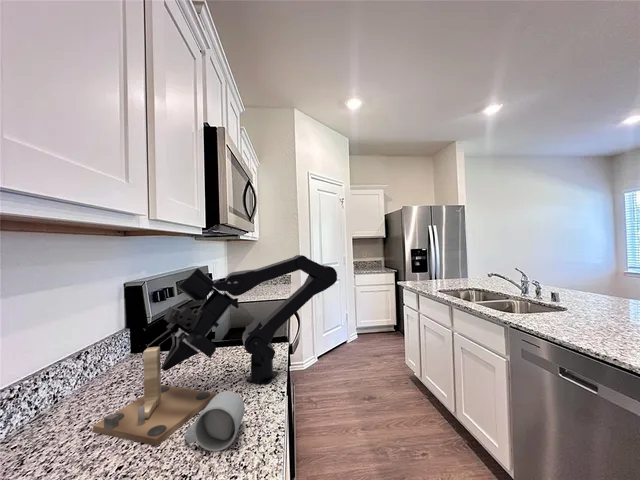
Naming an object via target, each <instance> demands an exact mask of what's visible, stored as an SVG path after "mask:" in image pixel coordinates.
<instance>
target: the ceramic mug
mask: <svg viewBox="0 0 640 480" xmlns="http://www.w3.org/2000/svg"><path fill="white" fill-rule="evenodd" d="M244 415H245V402H244V400H243V398H242V396H240V394H239V393H237V392H235V391H233V390H232V391H231V390H224V391H221V392H220V393H217V394H216V396H215V397H214V398H213V399H212V400H211V401H210V402H209V404H208V405H206V406H205V407H204V408H203V409H202V410H201V411H200V414H199V415H198V417H196V419H195V422H194V423H193V424H191V426H190V427H188V429H187V430H185V432H184V434H183V438H184V439H185V441H186V443H187V444H193V443H196V442H197V444H198V445H199V446H200V447H201V448H202V449H204V450H206V451H209V452H220V451H223V450H225V449H227V448H229V446H231V444H233V442H234V441H235V439H236V438H237V434H238V431H239V429H240V426H241V424H242V421H243V419H244Z"/></svg>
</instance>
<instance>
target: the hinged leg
mask: <svg viewBox="0 0 640 480" xmlns="http://www.w3.org/2000/svg"><path fill="white" fill-rule="evenodd" d="M142 354H143V388H144V389H143V396H144V405H143V406H145V418H149V416H150V415H151V413H152V411H153V410H154V408H155V406H156V405H158V404H159V402H160V400H161V385H162V374H161V373H162V371H161V370H162V369H161V367H162V365H161V363H162V362H161V346H152V347H146V349H144V351H143V353H142Z"/></svg>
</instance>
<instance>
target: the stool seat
mask: <svg viewBox="0 0 640 480" xmlns="http://www.w3.org/2000/svg"><path fill="white" fill-rule="evenodd" d="M216 395H217V394H216V392H211V391H205V390H198V389H192V388H186V387H180V386H178V387H177V386H171V385H163V384H161V400H160V402H159V404H158V405H156V406H155V408H154V410H153V411H152V413H151V415H150V416H149V418H145V406H143V405H144V395H143V396H141V397H139V398H137V399H135V400H134V401H132V402H130V403H129V404H127V405H126V406H124V407H122V408H121V409H119V410H117V411H115V412H114V413H109V414H108V415H106V416H104V417H103V419H102V420H100V421H99V422H97V423H95V424H94V425H92V432H93V433H98V434H100V435H101V434H102V435H106V436H111V437H113V438H114V437H115V438H120V439H123V438H125V439H124V440H128V439H129V440H128V441H132V440H133V442H137V443H141V444H146V445H150V446H155V447H157V446H159V445H160V444H161V443H162V442H164V441H165V440H167V438H168V437H170V436H171V435H172V434H173V433H175V432H176V431H177V430H179V428H181V427H182V426H183V425H184V424H186V423H187V422H188V421H189V420H191V419H192V418H193V417H194V416H195V415H197V414H199V412H201V411H203V410H204V409H205V408H206V406H207V405H208V404H209V402H210V401H211V400H212V399H213V398H214V397H215V396H216Z"/></svg>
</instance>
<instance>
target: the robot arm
mask: <svg viewBox="0 0 640 480" xmlns="http://www.w3.org/2000/svg"><path fill="white" fill-rule="evenodd" d="M297 271H302V272H303V273H305V274H306V275H308V276H307V277H306V279H305V280H304V283H303V284H302V285H301V286H300V287H299V288H297V290H295V292H293V293H292V294H291V295H290V296H289V297H288V298H286V299H285V300H284V302H282V303H281V304H280V305H279V306H278V307H276V309H274V311H272V312H271V313H270V314H269V315H268V316H267V317H266V318H263V319H260V320H259V318H258V317H256V318H255V319H253V321H252V322H251V323H250V324H249V325H246V326H245V330H244V331H243V333H242V337H241V339H242V343H243V347H244V350H245V351H246V352H247V353H248V354H249V355H251V356H250V375H249V377H248V376H247V378H246V382H248V383H254V384H255V383H256V384H263V385H268V384H270V383H271V381H273V379H275V377H277V375H279V372H278V371H276V370H275V371H274V363H273V360H274V358H275V355H276V350H275V349H274V347H273V345H272V343H271V342H272V340H273V338H274V337H275V334H276V333H277V331H278V330H279V329H280V327H282V326H283V325H285V323H286V322H287V321H288V320H289V319H290V318H292V317H294V315H296V313H297V312H298V311H299V310H300V309H301V308H302V307H304V305H306V304H307V303H308V302H309V301H310V300H311V299H312V298H313V297H314V296H315V295H317V294H319V293H322V292H324V291H326V290H327V289H330V288H331V287H332V286H333V285H335V283H337V280H338V273H337V271H336V269H335V268H334V267H332V266H328V265H324V264H321V263H318V262H316V261H315V260H311V259H310V258H308V257H307V256H306V255H303V254H301V255H300V254H296V255H294V256H293V257H290V258H287V259H283V260H281V261H277V262H274V263H271V264H268V265H265V266H262V267H259V268H256V269H255V268H254V269H245V270H239V271H232V272H230V273H228V274H227V275H226V276H225V277H223V278H219V279H218V278H217V279H212V278H211V277H210V276H208V275H207V274H206V273H204V271H203V270H202V269H200V267H197V268H196V269H195V270H194V271H193V272H192V273H191V274H190V275H188V276H187V277H186V279H184V280H183V282H181V283H180V284H179V286H178V287H177V289H178V290H179V291H181V292H182V293H184V294H185V295H186V296H187V297H189V298H190V299H191V300H193V301H194V302H195V303H196V302H197V301H199V302H200V301H201V302H203V301H204V300H205V299H206V298H207V297H208V298H207V299H206V300H205V301H204V302H203V303H202V305H201V306H200V307H199V308H193V309H191V308H188V307H185V306H183V307H182V308H181V309H179V308H177V307H173V306H168V309H167V310H166V313H165V315H164V318H163V321H166V322H167V323H168V325H166V327H165V328H167V330H169V331H171V332H172V333H170V335H171V340H172V344H171V347H170V349H169V351H168V353H167V355H166V358H165V359H164V361H163V364H162V365H161V370H162V371H164V372H167V371H168V370H170V369H172V368H174V367H175V366H177V365H179V364H181V363H182V362H185V361H186V360H189V359H190V358H192V357H194V356H195V355H199V354H200V352H201V353H203V354H204V355H205V356H207V357H208V358H209V359H211V358H212V356H213V355H214V354H215V353H216V350H217V347H216V346H217V345H216V343H214V342H212V341H211V340H209V338H208V337H207V336H208V334H209V333H210V332H211V330H212V329H214V328H216V329H217V328H218V327H219V326H220V324H219V321H220V319H221V318H222V317H223V316H224V315H225V313H226V312H227V310H228V309H229V308H231V309H235V310H236V309H239V308H240V307H239V298H237V297H238V296H242V295H243V294H245V293H247V292H249V291H251V290H253V289H254V288H255V287H257V286H258V285H260V284H262V283H266V282H268V281H270V280H273V279H276V278H280V277H282V276H285V275H288V274H291V273H295V272H297ZM211 292H212V293H211ZM221 292H223V293H221ZM210 293H211V294H210ZM209 294H210V295H209ZM230 295H231V296H232V297H231V296H230ZM233 297H236V298H233ZM198 350H199V351H200V352H199V351H198Z"/></svg>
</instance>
